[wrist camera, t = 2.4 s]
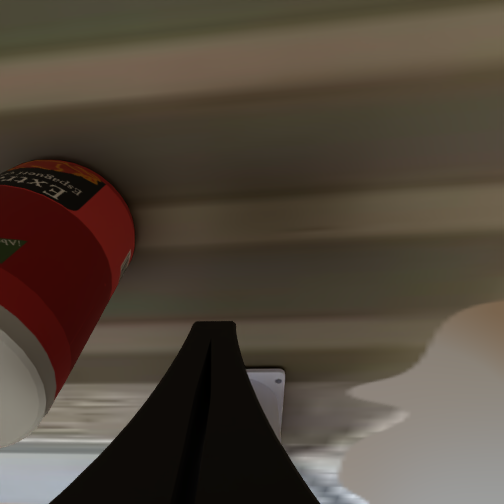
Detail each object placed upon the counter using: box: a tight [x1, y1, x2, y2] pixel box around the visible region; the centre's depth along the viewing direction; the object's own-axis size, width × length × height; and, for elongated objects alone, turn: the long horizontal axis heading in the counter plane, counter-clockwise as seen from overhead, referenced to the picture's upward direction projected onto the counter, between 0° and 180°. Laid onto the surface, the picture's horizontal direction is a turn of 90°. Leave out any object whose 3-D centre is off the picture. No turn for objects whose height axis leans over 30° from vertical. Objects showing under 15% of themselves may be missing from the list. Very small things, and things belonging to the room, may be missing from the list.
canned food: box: [0, 160, 135, 448], centre depth 15 cm, size 8×8×11 cm
